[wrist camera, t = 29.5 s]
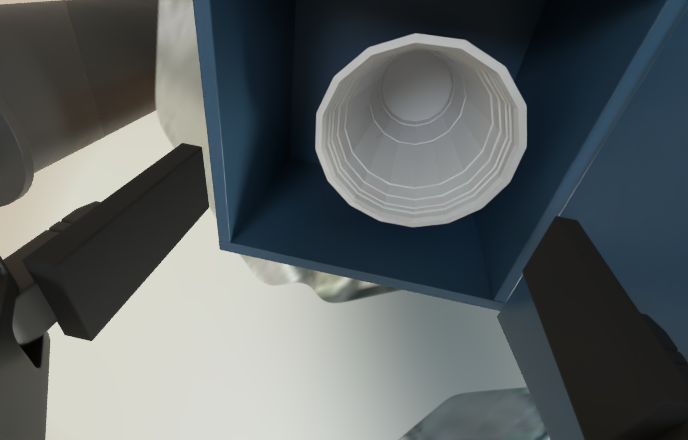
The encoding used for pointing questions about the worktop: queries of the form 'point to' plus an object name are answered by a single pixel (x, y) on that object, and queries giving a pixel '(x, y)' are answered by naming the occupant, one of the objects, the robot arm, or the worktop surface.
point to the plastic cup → (421, 130)
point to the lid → (624, 227)
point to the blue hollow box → (341, 49)
